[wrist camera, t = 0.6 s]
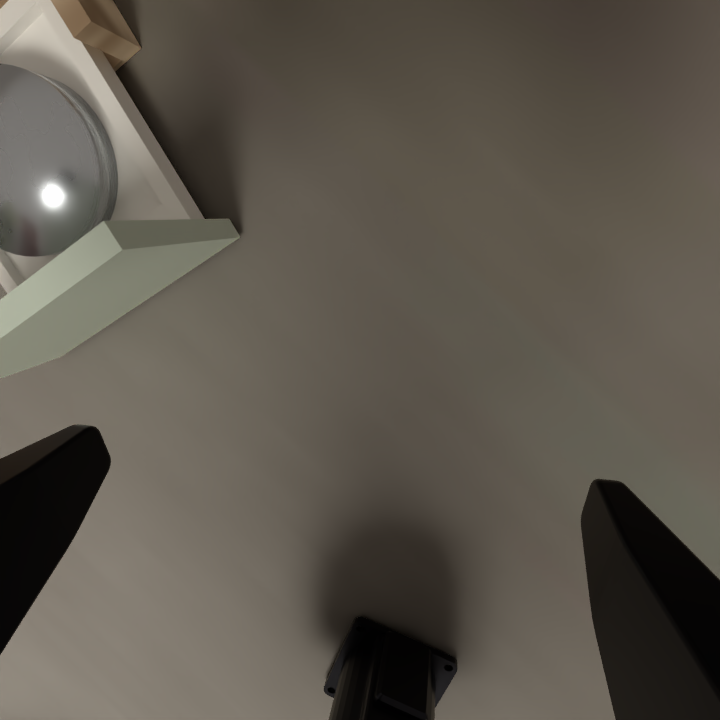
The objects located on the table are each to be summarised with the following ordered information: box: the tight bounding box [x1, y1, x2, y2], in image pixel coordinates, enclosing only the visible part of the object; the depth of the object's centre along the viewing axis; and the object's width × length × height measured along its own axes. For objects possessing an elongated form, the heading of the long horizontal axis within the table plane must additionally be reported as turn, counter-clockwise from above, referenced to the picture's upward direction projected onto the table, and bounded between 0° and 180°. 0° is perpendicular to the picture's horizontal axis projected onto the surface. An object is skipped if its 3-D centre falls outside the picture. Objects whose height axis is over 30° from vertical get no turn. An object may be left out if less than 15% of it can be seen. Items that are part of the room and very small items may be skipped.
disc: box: [0, 64, 118, 257], centre depth 22 cm, size 8×8×2 cm
